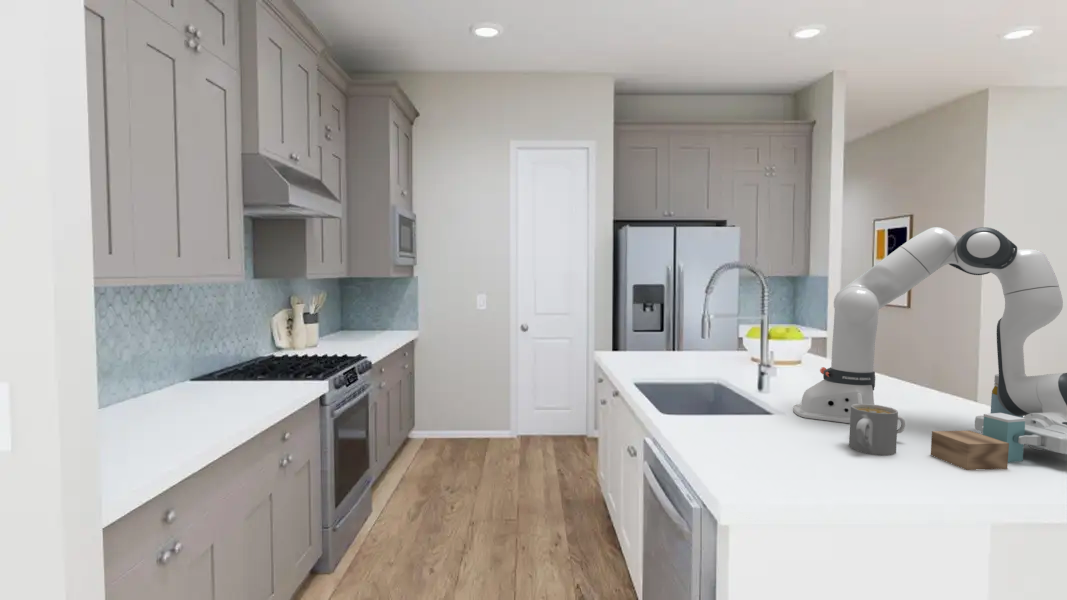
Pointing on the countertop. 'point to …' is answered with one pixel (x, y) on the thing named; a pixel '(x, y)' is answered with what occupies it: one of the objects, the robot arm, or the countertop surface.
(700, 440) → the countertop surface
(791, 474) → the countertop surface
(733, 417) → the countertop surface
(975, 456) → the walnut block
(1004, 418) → the tea tin
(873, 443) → the coffee mug
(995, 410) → the bottle
